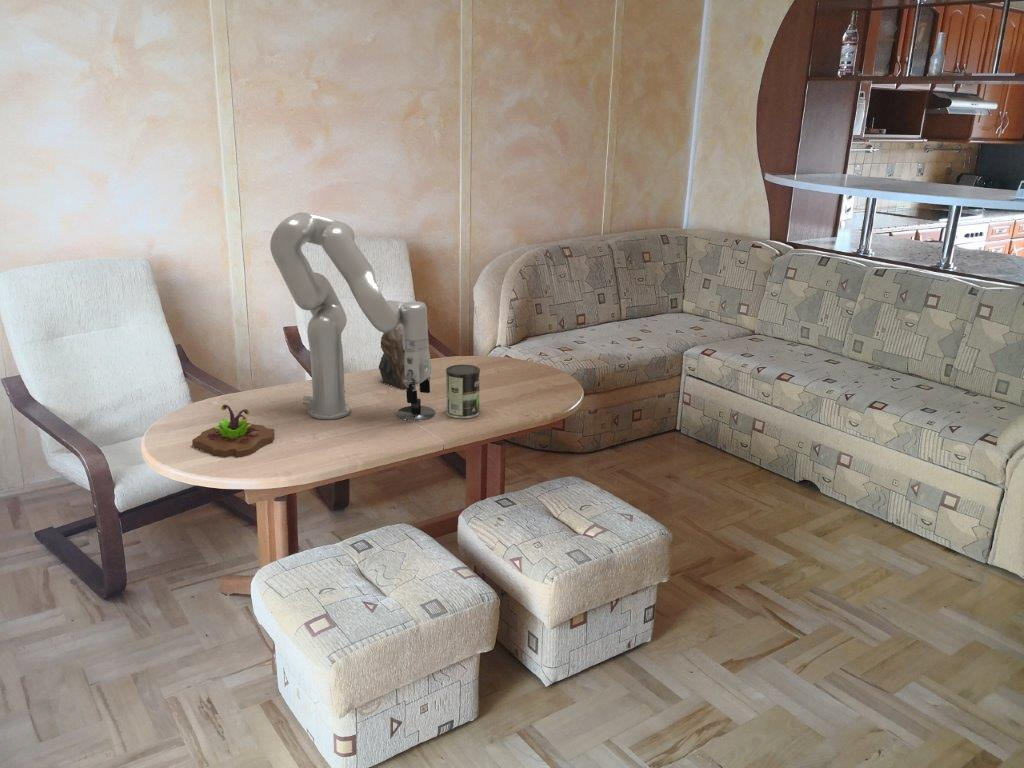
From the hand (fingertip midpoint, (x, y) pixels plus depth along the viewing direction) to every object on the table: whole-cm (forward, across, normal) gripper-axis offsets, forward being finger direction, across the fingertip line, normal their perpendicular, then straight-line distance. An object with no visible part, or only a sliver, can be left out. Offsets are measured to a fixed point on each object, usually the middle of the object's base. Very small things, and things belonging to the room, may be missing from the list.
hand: (418, 397), depth 257 cm
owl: (+5, +25, +17) cm, 30 cm away
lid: (+6, 0, +1) cm, 6 cm away
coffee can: (+6, +6, -12) cm, 14 cm away
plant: (+4, -38, +40) cm, 55 cm away
